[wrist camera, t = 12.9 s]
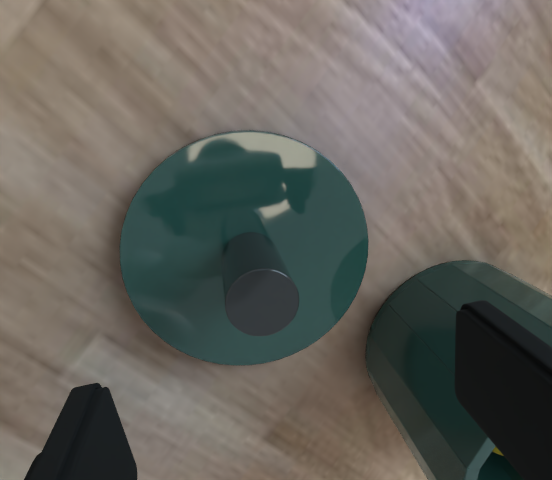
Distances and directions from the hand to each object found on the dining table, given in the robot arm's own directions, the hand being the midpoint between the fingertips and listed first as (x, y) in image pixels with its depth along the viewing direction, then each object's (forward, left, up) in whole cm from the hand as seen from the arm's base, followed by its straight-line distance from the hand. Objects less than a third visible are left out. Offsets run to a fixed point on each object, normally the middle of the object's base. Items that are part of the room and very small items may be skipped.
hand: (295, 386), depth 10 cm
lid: (0, 0, -11) cm, 11 cm away
